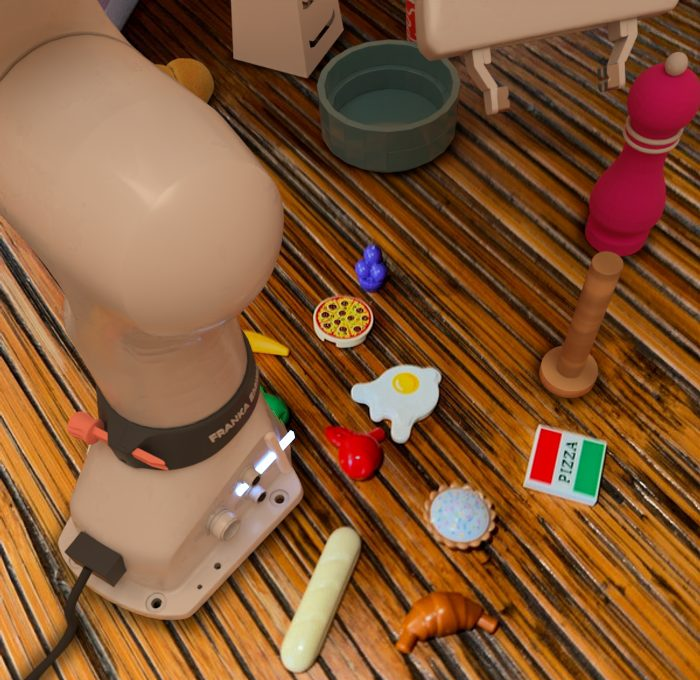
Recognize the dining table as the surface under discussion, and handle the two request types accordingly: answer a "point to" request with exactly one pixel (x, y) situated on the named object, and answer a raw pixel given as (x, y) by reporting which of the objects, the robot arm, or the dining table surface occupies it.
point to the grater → (284, 33)
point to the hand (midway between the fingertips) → (555, 101)
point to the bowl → (387, 106)
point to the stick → (582, 332)
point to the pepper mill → (643, 157)
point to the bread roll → (191, 76)
